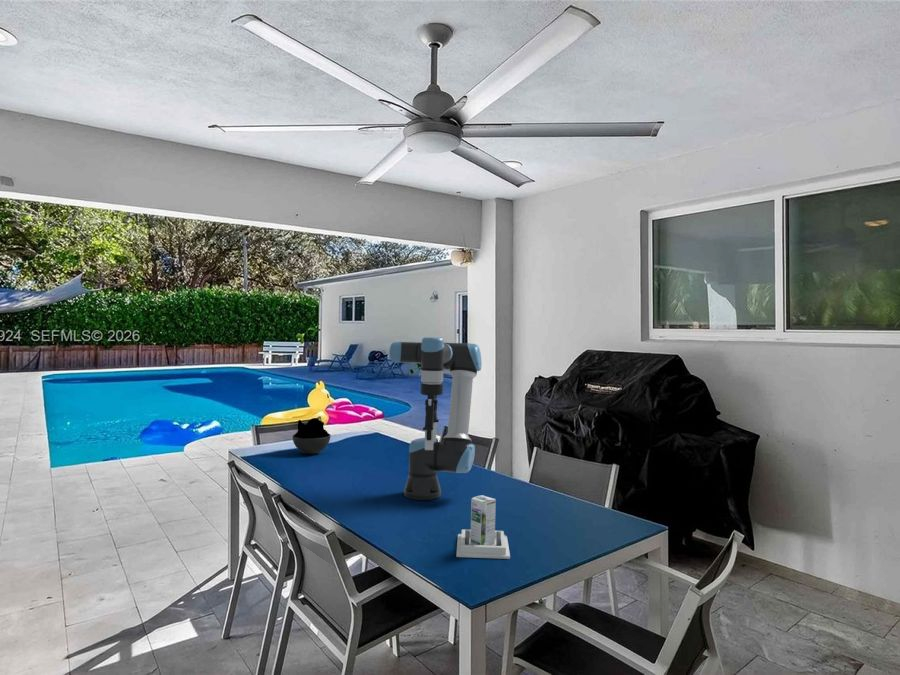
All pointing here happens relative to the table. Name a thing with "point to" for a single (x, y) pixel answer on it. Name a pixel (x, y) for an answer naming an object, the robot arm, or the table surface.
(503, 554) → the tray
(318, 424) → the coal bowl
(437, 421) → the robot arm
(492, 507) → the syrup box
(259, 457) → the table surface
